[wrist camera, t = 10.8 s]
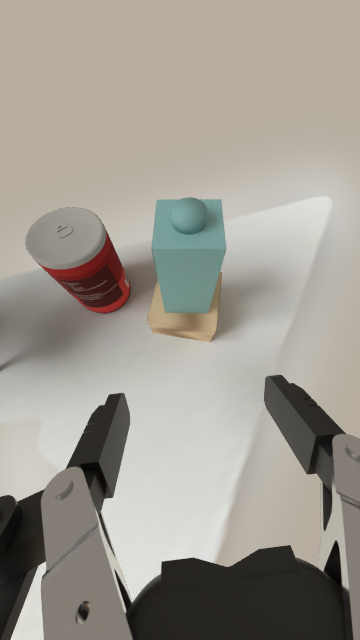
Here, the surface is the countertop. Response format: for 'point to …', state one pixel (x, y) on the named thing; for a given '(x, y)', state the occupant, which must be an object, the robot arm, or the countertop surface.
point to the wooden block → (185, 318)
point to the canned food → (80, 257)
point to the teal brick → (188, 252)
